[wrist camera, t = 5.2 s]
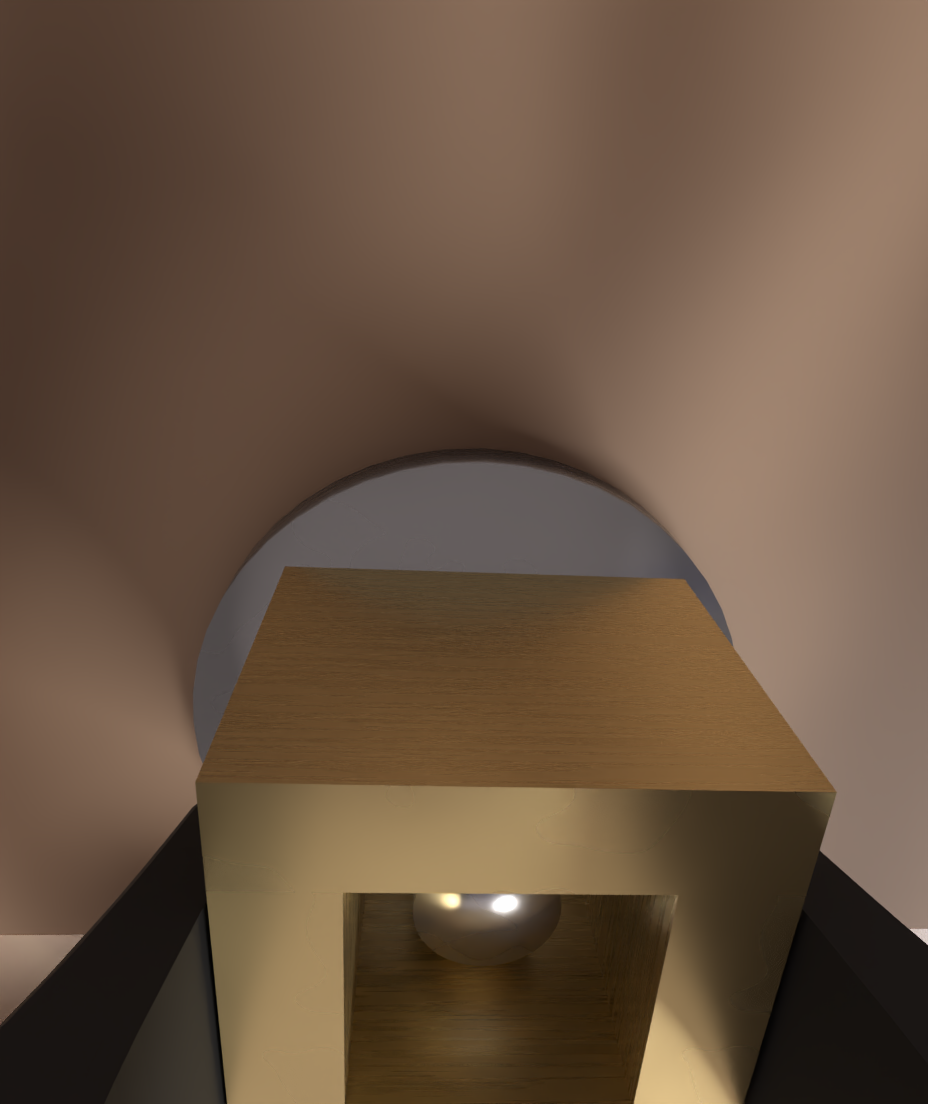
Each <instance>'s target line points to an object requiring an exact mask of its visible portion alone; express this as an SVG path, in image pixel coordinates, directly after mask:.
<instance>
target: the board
mask: <svg viewBox="0 0 928 1104" xmlns="http://www.w3.org/2000/svg"><path fill="white" fill-rule="evenodd" d="M474 448H483V449H493V450H503V451H514V452H521V453H525V454H529V455H534V456H538V457H542V458H547V459H551V460H555V461H557V462H560V463H563V464H565V465H568V466H571V467H573V468H576V469H579V470H581V471H584V472H587V473H589V474H591V475H593V476H595V477H596V478H598V479H600V480H602V481H604V482H606V483H607V484H609V485H611V486H613V487H615V488H617V489H619V490H620V491H621V492H623V493H624V494H625V495H627V496H628V497H630V498H631V499H632V500H634V501H635V502H636V503H638V504H639V505H640V506H642V507H643V508H644V509H646V510H647V511H648V512H649V513H650V514H651V515H652V516H653V517H654V518H655V519H656V520H657V521H658V522H659V523H660V524H661V525H662V526H663V527H664V528H665V529H666V530H667V531H668V532H669V533H670V534H671V535H672V537H673V538H674V539H675V540H676V541H677V543H678V544H679V545H680V546H681V547H682V549H683V550H684V551H685V552H686V554H687V555H688V556H689V558H690V559H691V560H692V562H693V563H694V564H695V566H696V567H697V568H698V570H699V571H700V572H701V574H702V575H703V576H704V578H705V579H706V580H707V582H708V584H709V586H710V588H711V590H712V591H713V593H714V595H715V597H716V599H717V601H718V603H719V605H720V607H721V609H722V611H723V614H724V617H725V620H726V623H727V626H728V629H729V631H730V634H731V637H732V641H733V647H734V649H735V650H736V652H737V653H738V655H739V656H740V657H741V659H742V660H743V662H744V663H745V664H746V666H747V667H748V669H749V670H750V671H751V673H752V674H753V676H754V677H755V678H756V680H757V681H758V683H759V684H760V685H761V687H762V688H763V690H764V691H765V692H766V694H767V695H768V697H769V698H770V699H771V701H772V702H773V704H774V705H775V706H776V708H777V709H778V711H779V712H780V713H781V715H782V716H783V718H784V719H785V720H786V722H787V723H788V725H789V726H790V727H791V729H792V730H793V732H794V733H795V734H796V736H797V737H798V739H799V740H800V741H801V743H802V744H803V746H804V747H805V748H806V750H807V751H808V753H809V754H810V755H811V757H812V758H813V759H814V761H815V762H816V764H817V765H818V766H819V768H820V769H821V771H822V772H823V773H824V775H825V776H826V778H827V779H828V780H829V782H830V783H831V785H832V786H833V787H834V789H835V790H836V792H837V794H836V797H835V801H834V804H833V807H832V810H831V814H830V817H829V820H828V824H827V827H826V830H825V834H824V837H823V840H822V844H821V847H820V851H821V852H822V853H823V854H824V855H826V856H827V857H828V858H829V859H830V860H831V861H832V862H833V863H834V864H836V865H837V866H838V867H839V868H840V869H841V870H842V871H843V872H845V873H846V874H847V875H848V876H849V877H850V878H851V879H852V880H854V881H855V882H856V883H857V884H858V885H859V886H860V887H861V888H863V889H864V890H865V891H866V892H867V893H868V894H869V895H870V896H872V897H873V898H874V899H875V900H876V901H877V902H878V903H880V904H881V905H882V906H883V907H884V908H885V909H886V910H888V911H889V912H890V913H891V914H892V915H893V916H894V917H896V918H897V919H898V920H899V921H900V922H901V923H903V924H904V925H905V926H906V927H907V928H908V929H928V0H0V935H70V934H86V933H87V932H88V931H89V930H90V928H91V927H92V926H93V925H94V924H95V923H96V922H97V921H98V920H99V918H100V917H101V916H102V915H103V914H104V913H105V912H106V911H107V909H108V908H109V907H110V906H111V905H112V904H113V903H114V902H115V900H116V899H117V898H118V897H119V896H120V895H121V893H122V892H123V891H124V890H125V889H126V887H127V886H128V885H129V884H130V883H131V882H132V880H133V879H134V878H135V877H136V876H137V874H138V873H139V872H140V871H141V870H142V869H143V867H144V866H145V865H146V864H147V863H148V861H149V860H150V859H151V858H152V856H153V855H154V854H155V853H156V852H157V850H158V849H159V848H160V847H161V846H162V844H163V843H164V842H165V841H166V839H167V838H168V837H169V836H170V834H171V833H172V832H173V831H174V829H175V828H176V827H177V826H178V825H179V823H180V822H181V821H182V820H183V818H184V817H185V816H186V815H187V813H188V812H189V811H190V810H191V808H192V807H193V806H195V805H196V804H197V796H196V786H195V782H196V779H197V777H198V774H199V772H200V770H201V767H202V765H203V764H202V761H201V758H200V755H199V751H198V745H197V740H196V734H195V729H194V721H193V688H194V681H195V674H196V666H197V660H198V657H199V654H200V650H201V647H202V644H203V640H204V637H205V634H206V631H207V628H208V626H209V624H210V622H211V620H212V618H213V616H214V614H215V612H216V610H217V607H218V605H219V603H220V601H221V599H222V597H223V596H224V594H225V592H226V590H227V588H228V586H229V585H230V583H231V581H232V579H233V577H234V575H235V574H236V572H237V571H238V570H239V568H240V567H241V565H242V564H243V562H244V561H245V559H246V558H247V556H248V555H249V553H250V552H251V551H252V549H253V548H254V547H255V546H256V544H257V543H258V542H259V541H260V540H261V539H262V538H263V537H264V536H265V535H266V534H267V532H268V531H269V530H270V529H271V528H272V527H273V526H274V525H275V524H276V523H277V522H278V521H279V520H280V519H282V518H283V517H284V516H285V515H287V514H288V513H289V512H290V511H291V510H293V509H294V508H295V507H296V506H298V505H299V504H300V503H301V502H302V501H304V500H305V499H307V498H308V497H310V496H312V495H313V494H315V493H317V492H318V491H320V490H322V489H323V488H325V487H326V486H328V485H330V484H331V483H333V482H335V481H337V480H339V479H341V478H343V477H346V476H348V475H350V474H352V473H355V472H357V471H359V470H362V469H364V468H366V467H368V466H371V465H375V464H378V463H382V462H385V461H388V460H392V459H395V458H398V457H402V456H405V455H412V454H418V453H424V452H430V451H436V450H443V449H474Z"/></svg>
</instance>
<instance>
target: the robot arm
mask: <svg viewBox="0 0 928 1104" xmlns="http://www.w3.org/2000/svg"><path fill="white" fill-rule="evenodd" d="M0 1104H227V1097H226V1087H225V1077H224V1067H223V1057H222V1047H221V1037H220V1027H219V1017H218V1006H217V996H216V986H215V976H214V966H213V956H212V946H211V936H210V926H209V916H208V906H207V896H206V886H205V876H204V866H203V856H202V846H201V836H200V826H199V816H198V806H197V804H196V805H195V806H193V807H192V808H191V810H190V811H189V812H188V813H187V815H186V816H185V817H184V818H183V820H182V821H181V822H180V823H179V825H178V826H177V827H176V828H175V829H174V831H173V832H172V833H171V834H170V836H169V837H168V838H167V839H166V841H165V842H164V843H163V844H162V846H161V847H160V848H159V849H158V850H157V852H156V853H155V854H154V855H153V856H152V858H151V859H150V860H149V861H148V863H147V864H146V865H145V866H144V867H143V869H142V870H141V871H140V872H139V873H138V874H137V876H136V877H135V878H134V879H133V880H132V882H131V883H130V884H129V885H128V886H127V887H126V889H125V890H124V891H123V892H122V893H121V895H120V896H119V897H118V898H117V899H116V900H115V902H114V903H113V904H112V905H111V906H110V907H109V908H108V909H107V911H106V912H105V913H104V914H103V915H102V916H101V917H100V918H99V920H98V921H97V922H96V923H95V924H94V925H93V926H92V927H91V928H90V930H89V931H88V932H87V933H86V934H85V935H84V936H83V937H82V939H81V940H80V941H79V942H78V943H77V944H76V945H75V946H74V948H73V949H72V950H71V951H70V952H69V953H68V954H67V955H66V957H65V958H64V959H63V960H62V961H61V962H60V963H59V964H58V965H57V966H56V968H55V969H54V970H53V971H52V972H51V973H50V974H49V975H48V976H47V977H46V978H45V979H44V980H43V981H42V982H41V984H40V985H39V986H38V987H37V988H36V989H35V990H34V991H33V992H32V993H31V994H30V995H29V996H28V997H27V998H26V999H25V1000H24V1001H23V1002H22V1003H21V1004H20V1005H19V1006H18V1007H17V1008H16V1009H15V1010H14V1011H13V1012H12V1013H11V1014H10V1016H9V1017H8V1018H7V1019H6V1020H5V1021H4V1022H3V1023H2V1024H1V1025H0ZM744 1104H928V945H927V944H926V943H925V942H923V941H922V940H921V939H920V938H919V937H918V936H917V935H915V934H914V933H913V932H912V931H911V930H910V929H908V928H907V927H906V926H905V925H904V924H903V923H901V922H900V921H899V920H898V919H897V918H896V917H894V916H893V915H892V914H891V913H890V912H889V911H888V910H886V909H885V908H884V907H883V906H882V905H881V904H880V903H878V902H877V901H876V900H875V899H874V898H873V897H872V896H870V895H869V894H868V893H867V892H866V891H865V890H864V889H863V888H861V887H860V886H859V885H858V884H857V883H856V882H855V881H854V880H852V879H851V878H850V877H849V876H848V875H847V874H846V873H845V872H843V871H842V870H841V869H840V868H839V867H838V866H837V865H836V864H834V863H833V862H832V861H831V860H830V859H829V858H828V857H827V856H826V855H824V854H823V853H822V852H821V851H820V850H819V854H818V857H817V860H816V864H815V867H814V870H813V874H812V877H811V880H810V884H809V887H808V890H807V894H806V897H805V900H804V904H803V907H802V910H801V914H800V917H799V920H798V924H797V927H796V930H795V934H794V937H793V940H792V944H791V947H790V950H789V954H788V957H787V960H786V964H785V967H784V970H783V974H782V977H781V980H780V984H779V987H778V990H777V994H776V997H775V1000H774V1004H773V1007H772V1010H771V1014H770V1017H769V1020H768V1024H767V1027H766V1030H765V1034H764V1037H763V1040H762V1044H761V1047H760V1050H759V1054H758V1057H757V1060H756V1064H755V1067H754V1070H753V1074H752V1077H751V1080H750V1084H749V1087H748V1090H747V1094H746V1097H745V1100H744Z"/></svg>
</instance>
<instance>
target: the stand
mask: <svg viewBox="0 0 928 1104" xmlns="http://www.w3.org/2000/svg"><path fill="white" fill-rule="evenodd" d="M285 566H289V567H321V568H352V569H384V570H415V571H446V572H478V573H509V574H541V575H572V576H603V577H635V578H666V579H685V580H686V582H687V583H688V585H689V586H690V587H691V589H692V590H693V592H694V593H695V594H696V596H697V597H698V599H699V600H700V601H701V603H702V604H703V606H704V607H705V608H706V610H707V611H708V613H709V614H710V615H711V617H712V618H713V620H714V621H715V622H716V624H717V625H718V627H719V628H720V629H721V631H722V632H723V634H724V635H725V636H726V638H727V639H728V641H729V642H730V643H731V645H732V646H733V641H732V637H731V634H730V631H729V629H728V626H727V623H726V620H725V617H724V614H723V611H722V609H721V607H720V605H719V603H718V601H717V599H716V597H715V595H714V593H713V591H712V590H711V588H710V586H709V584H708V582H707V580H706V579H705V578H704V576H703V575H702V574H701V572H700V571H699V570H698V568H697V567H696V566H695V564H694V563H693V562H692V560H691V559H690V558H689V556H688V555H687V554H686V552H685V551H684V550H683V549H682V547H681V546H680V545H679V544H678V543H677V541H676V540H675V539H674V538H673V537H672V535H671V534H670V533H669V532H668V531H667V530H666V529H665V528H664V527H663V526H662V525H661V524H660V523H659V522H658V521H657V520H656V519H655V518H654V517H653V516H652V515H651V514H650V513H649V512H648V511H647V510H646V509H644V508H643V507H642V506H640V505H639V504H638V503H636V502H635V501H634V500H632V499H631V498H630V497H628V496H627V495H625V494H624V493H623V492H621V491H620V490H619V489H617V488H615V487H613V486H611V485H609V484H607V483H606V482H604V481H602V480H600V479H598V478H596V477H595V476H593V475H591V474H589V473H587V472H584V471H581V470H579V469H576V468H573V467H571V466H568V465H565V464H563V463H560V462H557V461H555V460H551V459H547V458H542V457H538V456H534V455H529V454H525V453H521V452H514V451H503V450H493V449H483V448H474V449H443V450H436V451H430V452H424V453H418V454H412V455H405V456H402V457H398V458H395V459H392V460H388V461H385V462H382V463H378V464H375V465H371V466H368V467H366V468H364V469H362V470H359V471H357V472H355V473H352V474H350V475H348V476H346V477H343V478H341V479H339V480H337V481H335V482H333V483H331V484H330V485H328V486H326V487H325V488H323V489H322V490H320V491H318V492H317V493H315V494H313V495H312V496H310V497H308V498H307V499H305V500H304V501H302V502H301V503H300V504H299V505H298V506H296V507H295V508H294V509H293V510H291V511H290V512H289V513H288V514H287V515H285V516H284V517H283V518H282V519H280V520H279V521H278V522H277V523H276V524H275V525H274V526H273V527H272V528H271V529H270V530H269V531H268V532H267V534H266V535H265V536H264V537H263V538H262V539H261V540H260V541H259V542H258V543H257V544H256V546H255V547H254V548H253V549H252V551H251V552H250V553H249V555H248V556H247V558H246V559H245V561H244V562H243V564H242V565H241V567H240V568H239V570H238V571H237V572H236V574H235V575H234V577H233V579H232V581H231V583H230V585H229V586H228V588H227V590H226V592H225V594H224V596H223V597H222V599H221V601H220V603H219V605H218V607H217V610H216V612H215V614H214V616H213V618H212V620H211V622H210V624H209V626H208V628H207V631H206V634H205V637H204V640H203V644H202V647H201V650H200V654H199V657H198V660H197V666H196V674H195V681H194V688H193V721H194V729H195V734H196V740H197V745H198V751H199V755H200V758H201V761H202V764H203V762H204V760H205V758H206V755H207V753H208V750H209V748H210V745H211V743H212V741H213V738H214V736H215V733H216V731H217V729H218V726H219V724H220V721H221V719H222V717H223V714H224V712H225V709H226V707H227V705H228V702H229V700H230V697H231V695H232V693H233V690H234V688H235V685H236V683H237V681H238V678H239V676H240V673H241V671H242V669H243V666H244V664H245V661H246V659H247V657H248V654H249V652H250V649H251V647H252V645H253V642H254V640H255V637H256V635H257V632H258V630H259V628H260V625H261V623H262V620H263V618H264V616H265V613H266V611H267V608H268V606H269V604H270V601H271V599H272V596H273V594H274V592H275V589H276V587H277V584H278V582H279V580H280V577H281V575H282V572H283V570H284V568H285ZM733 648H734V647H733ZM561 905H562V904H561V897H560V894H452V893H413V921H414V925H415V928H416V930H417V933H418V935H419V936H420V938H421V939H422V941H423V942H424V943H425V944H426V945H427V946H428V947H429V948H430V949H431V950H433V951H434V952H435V953H437V954H439V955H440V956H442V957H444V958H446V959H448V960H451V961H454V962H457V963H461V964H466V965H473V966H492V965H499V964H504V963H508V962H512V961H515V960H517V959H520V958H522V957H524V956H526V955H528V954H530V953H532V952H533V951H535V950H536V949H538V948H539V947H540V946H541V945H543V944H544V943H545V942H546V941H547V940H548V939H549V937H550V936H551V935H552V933H553V932H554V930H555V929H556V927H557V925H558V922H559V919H560V915H561Z"/></svg>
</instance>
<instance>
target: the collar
mask: <svg viewBox="0 0 928 1104" xmlns="http://www.w3.org/2000/svg"><path fill="white" fill-rule="evenodd" d="M195 786H196V796H197V806H198V816H199V826H200V836H201V846H202V856H203V866H204V876H205V886H206V896H207V906H208V916H209V926H210V936H211V946H212V956H213V966H214V976H215V986H216V996H217V1006H218V1017H219V1027H220V1037H221V1047H222V1057H223V1067H224V1077H225V1087H226V1097H227V1104H744V1100H745V1097H746V1094H747V1090H748V1087H749V1084H750V1080H751V1077H752V1074H753V1070H754V1067H755V1064H756V1060H757V1057H758V1054H759V1050H760V1047H761V1044H762V1040H763V1037H764V1034H765V1030H766V1027H767V1024H768V1020H769V1017H770V1014H771V1010H772V1007H773V1004H774V1000H775V997H776V994H777V990H778V987H779V984H780V980H781V977H782V974H783V970H784V967H785V964H786V960H787V957H788V954H789V950H790V947H791V944H792V940H793V937H794V934H795V930H796V927H797V924H798V920H799V917H800V914H801V910H802V907H803V904H804V900H805V897H806V894H807V890H808V887H809V884H810V880H811V877H812V874H813V870H814V867H815V864H816V860H817V857H818V854H819V850H820V847H821V844H822V840H823V837H824V834H825V830H826V827H827V824H828V820H829V817H830V814H831V810H832V807H833V804H834V801H835V797H836V794H837V792H836V790H835V789H834V787H833V786H832V785H831V783H830V782H829V780H828V779H827V778H826V776H825V775H824V773H823V772H822V771H821V769H820V768H819V766H818V765H817V764H816V762H815V761H814V759H813V758H812V757H811V755H810V754H809V753H808V751H807V750H806V748H805V747H804V746H803V744H802V743H801V741H800V740H799V739H798V737H797V736H796V734H795V733H794V732H793V730H792V729H791V727H790V726H789V725H788V723H787V722H786V720H785V719H784V718H783V716H782V715H781V713H780V712H779V711H778V709H777V708H776V706H775V705H774V704H773V702H772V701H771V699H770V698H769V697H768V695H767V694H766V692H765V691H764V690H763V688H762V687H761V685H760V684H759V683H758V681H757V680H756V678H755V677H754V676H753V674H752V673H751V671H750V670H749V669H748V667H747V666H746V664H745V663H744V662H743V660H742V659H741V657H740V656H739V655H738V653H737V652H736V650H735V649H734V648H733V646H732V645H731V643H730V642H729V641H728V639H727V638H726V636H725V635H724V634H723V632H722V631H721V629H720V628H719V627H718V625H717V624H716V622H715V621H714V620H713V618H712V617H711V615H710V614H709V613H708V611H707V610H706V608H705V607H704V606H703V604H702V603H701V601H700V600H699V599H698V597H697V596H696V594H695V593H694V592H693V590H692V589H691V587H690V586H689V585H688V583H687V582H686V580H685V579H666V578H635V577H603V576H572V575H541V574H509V573H478V572H446V571H415V570H384V569H352V568H321V567H289V566H285V568H284V570H283V572H282V575H281V577H280V580H279V582H278V584H277V587H276V589H275V592H274V594H273V596H272V599H271V601H270V604H269V606H268V608H267V611H266V613H265V616H264V618H263V620H262V623H261V625H260V628H259V630H258V632H257V635H256V637H255V640H254V642H253V645H252V647H251V649H250V652H249V654H248V657H247V659H246V661H245V664H244V666H243V669H242V671H241V673H240V676H239V678H238V681H237V683H236V685H235V688H234V690H233V693H232V695H231V697H230V700H229V702H228V705H227V707H226V709H225V712H224V714H223V717H222V719H221V721H220V724H219V726H218V729H217V731H216V733H215V736H214V738H213V741H212V743H211V745H210V748H209V750H208V753H207V755H206V758H205V760H204V762H203V765H202V767H201V770H200V772H199V774H198V777H197V779H196V782H195ZM413 893H452V894H560V897H561V904H562V905H561V915H560V919H559V922H558V925H557V927H556V929H555V930H554V932H553V933H552V935H551V936H550V937H549V939H548V940H547V941H546V942H545V943H544V944H543V945H541V946H540V947H539V948H538V949H536V950H535V951H533V952H532V953H530V954H528V955H526V956H524V957H522V958H520V959H517V960H515V961H512V962H508V963H504V964H499V965H492V966H473V965H466V964H461V963H457V962H454V961H451V960H448V959H446V958H444V957H442V956H440V955H439V954H437V953H435V952H434V951H433V950H431V949H430V948H429V947H428V946H427V945H426V944H425V943H424V942H423V941H422V939H421V938H420V936H419V935H418V933H417V930H416V928H415V925H414V921H413Z"/></svg>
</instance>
